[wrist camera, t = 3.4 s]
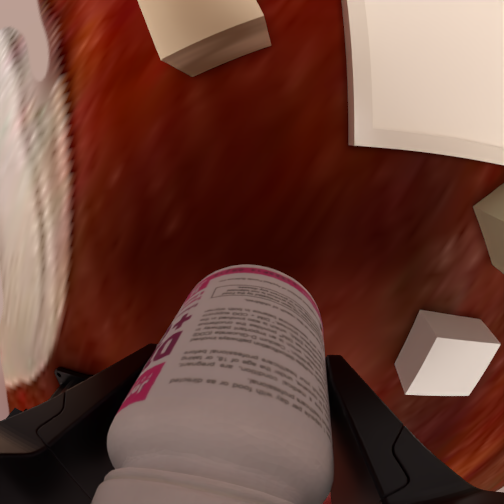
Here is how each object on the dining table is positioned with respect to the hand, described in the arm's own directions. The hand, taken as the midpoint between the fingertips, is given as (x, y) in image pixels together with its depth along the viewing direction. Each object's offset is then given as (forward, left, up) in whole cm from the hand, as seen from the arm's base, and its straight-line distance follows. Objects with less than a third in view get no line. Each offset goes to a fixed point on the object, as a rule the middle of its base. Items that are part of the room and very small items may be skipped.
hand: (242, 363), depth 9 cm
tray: (+10, +12, -8) cm, 17 cm away
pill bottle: (0, 0, -2) cm, 2 cm away
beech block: (-2, +12, -8) cm, 14 cm away
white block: (+11, -5, -8) cm, 14 cm away
